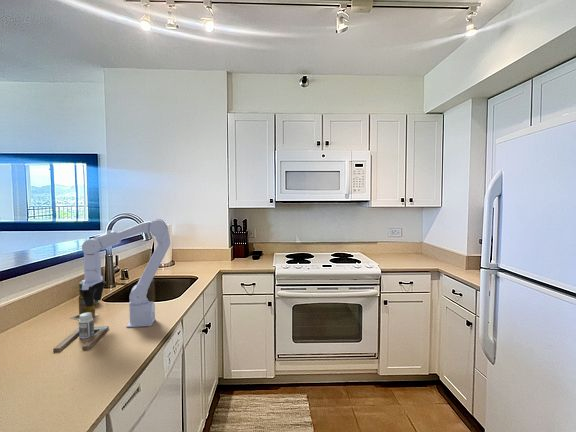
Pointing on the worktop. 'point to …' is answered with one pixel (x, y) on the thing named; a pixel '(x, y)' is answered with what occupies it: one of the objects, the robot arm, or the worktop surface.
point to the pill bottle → (86, 325)
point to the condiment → (84, 308)
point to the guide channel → (74, 335)
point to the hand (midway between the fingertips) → (93, 303)
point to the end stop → (97, 328)
